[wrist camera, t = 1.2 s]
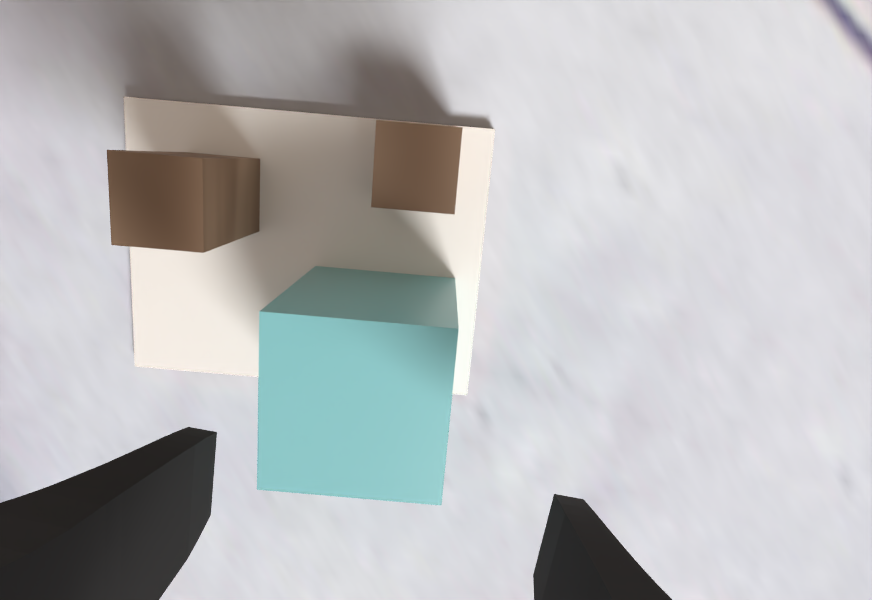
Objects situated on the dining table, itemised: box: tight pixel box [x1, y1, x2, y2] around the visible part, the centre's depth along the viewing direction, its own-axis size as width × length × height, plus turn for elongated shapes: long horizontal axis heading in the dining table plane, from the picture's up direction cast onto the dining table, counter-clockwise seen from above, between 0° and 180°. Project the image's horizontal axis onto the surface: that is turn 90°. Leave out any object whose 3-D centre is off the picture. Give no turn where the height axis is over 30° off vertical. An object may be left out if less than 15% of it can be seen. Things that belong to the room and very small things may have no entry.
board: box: [124, 97, 495, 395], centre depth 22 cm, size 13×10×1 cm
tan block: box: [371, 120, 463, 215], centre depth 19 cm, size 3×3×3 cm
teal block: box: [257, 266, 459, 505], centre depth 19 cm, size 5×5×7 cm
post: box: [107, 150, 260, 253], centre depth 18 cm, size 3×3×5 cm
